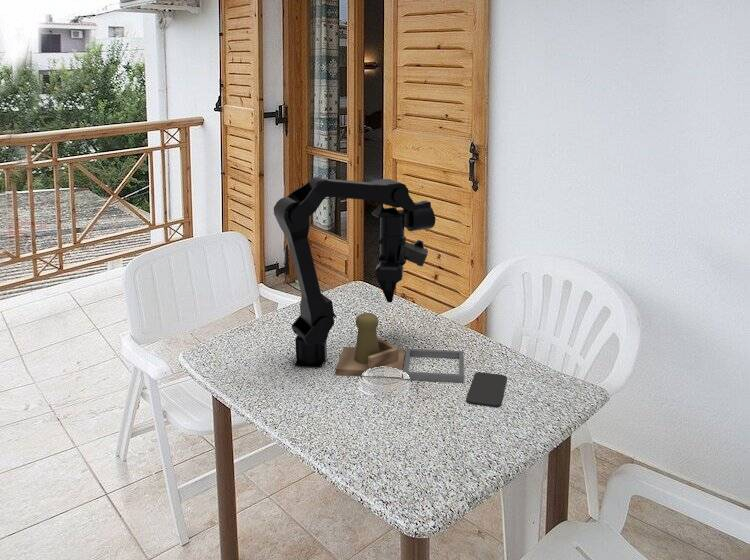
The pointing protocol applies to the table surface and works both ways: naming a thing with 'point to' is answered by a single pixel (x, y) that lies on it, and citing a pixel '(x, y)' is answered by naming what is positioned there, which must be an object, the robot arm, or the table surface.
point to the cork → (366, 337)
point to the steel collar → (435, 376)
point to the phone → (487, 389)
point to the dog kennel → (371, 359)
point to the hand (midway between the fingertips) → (391, 295)
